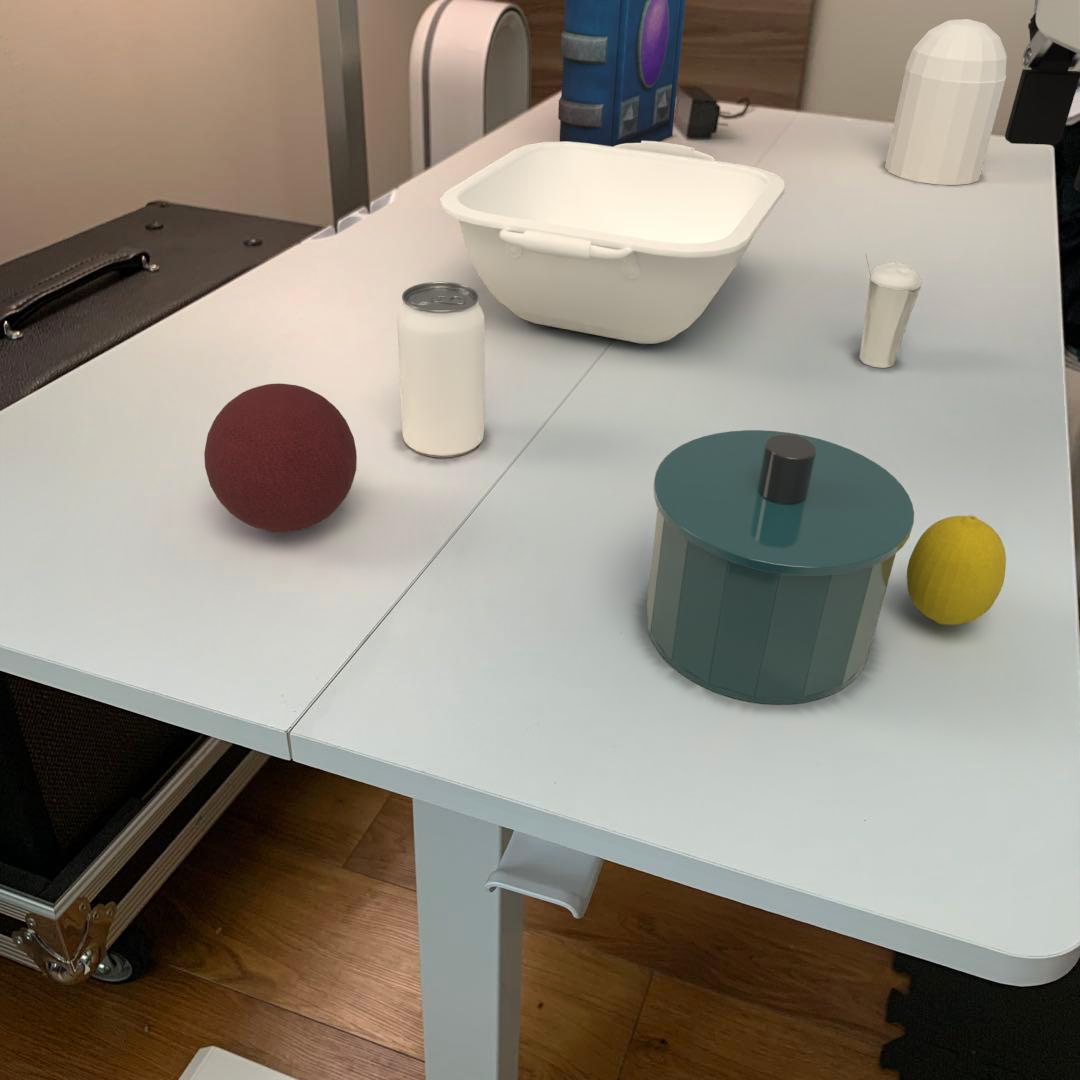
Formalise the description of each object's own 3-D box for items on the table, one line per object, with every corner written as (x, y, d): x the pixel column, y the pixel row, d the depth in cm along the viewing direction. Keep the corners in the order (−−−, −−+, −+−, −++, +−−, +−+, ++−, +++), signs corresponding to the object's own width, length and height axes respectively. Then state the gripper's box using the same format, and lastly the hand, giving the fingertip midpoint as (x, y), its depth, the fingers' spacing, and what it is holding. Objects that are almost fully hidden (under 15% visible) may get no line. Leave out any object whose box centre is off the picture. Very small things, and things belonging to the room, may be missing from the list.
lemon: (879, 622, 68) (907, 517, 63) (919, 585, 71) (949, 482, 66) (961, 663, 65) (998, 556, 60) (999, 622, 68) (1037, 517, 63)
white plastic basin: (541, 238, 125) (545, 125, 118) (782, 278, 117) (803, 159, 109) (405, 349, 99) (399, 212, 91) (704, 412, 90) (724, 267, 83)
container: (870, 172, 153) (901, 18, 141) (902, 153, 162) (933, 7, 150) (964, 191, 146) (1005, 31, 135) (992, 170, 156) (1032, 19, 144)
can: (408, 418, 88) (402, 277, 81) (486, 421, 88) (487, 281, 81) (397, 457, 82) (390, 311, 76) (480, 461, 82) (481, 315, 76)
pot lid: (871, 449, 68) (885, 389, 65) (944, 588, 56) (965, 521, 53) (641, 443, 67) (647, 383, 65) (666, 582, 55) (674, 515, 53)
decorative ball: (276, 580, 69) (258, 445, 63) (186, 521, 74) (161, 392, 69) (390, 518, 75) (383, 390, 70) (300, 468, 81) (286, 345, 75)
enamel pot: (838, 566, 72) (867, 444, 67) (894, 706, 61) (935, 573, 56) (638, 562, 72) (651, 439, 67) (658, 702, 61) (676, 567, 55)
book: (601, 171, 148) (618, -80, 131) (548, 160, 152) (558, -85, 135) (680, 138, 165) (704, -89, 148) (630, 128, 169) (648, -93, 152)
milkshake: (841, 347, 102) (862, 245, 96) (898, 352, 102) (923, 250, 96) (845, 368, 98) (868, 262, 93) (905, 373, 98) (931, 268, 92)
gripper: (1381, -207, 43) (1213, 218, 52) (1168, -205, 57) (1067, 129, 67) (1196, -215, 43) (1062, 213, 52) (1029, -211, 57) (948, 125, 67)
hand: (1065, 165), depth 59 cm, fingers open, 9 cm apart
